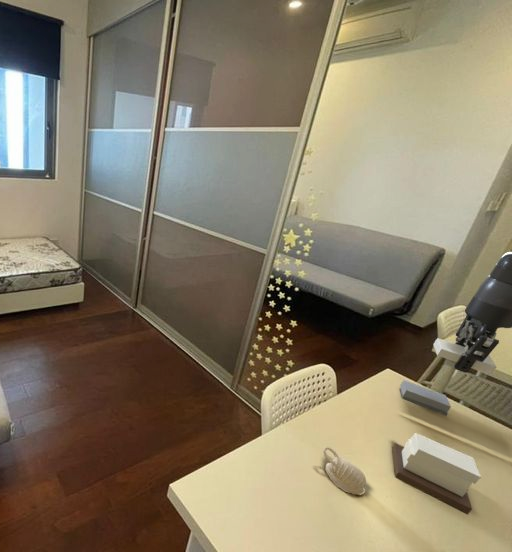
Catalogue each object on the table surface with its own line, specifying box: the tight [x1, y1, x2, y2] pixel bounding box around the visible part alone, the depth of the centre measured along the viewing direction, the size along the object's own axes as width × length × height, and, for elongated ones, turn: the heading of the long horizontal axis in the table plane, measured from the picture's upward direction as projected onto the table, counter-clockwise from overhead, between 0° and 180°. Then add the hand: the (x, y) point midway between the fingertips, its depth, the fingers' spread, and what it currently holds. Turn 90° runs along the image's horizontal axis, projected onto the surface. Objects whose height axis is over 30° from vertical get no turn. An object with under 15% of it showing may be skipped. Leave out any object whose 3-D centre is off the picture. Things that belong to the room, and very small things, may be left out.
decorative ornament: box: [322, 446, 367, 496], centre depth 63 cm, size 4×8×5 cm, turn 37°
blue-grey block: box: [399, 379, 452, 417], centre depth 86 cm, size 9×6×4 cm, turn 54°
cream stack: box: [391, 432, 482, 514], centre depth 65 cm, size 11×9×8 cm
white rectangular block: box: [433, 337, 497, 375], centre depth 74 cm, size 9×6×2 cm, turn 53°
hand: (457, 363), depth 75 cm, fingers closed on white rectangular block, 6 cm apart
